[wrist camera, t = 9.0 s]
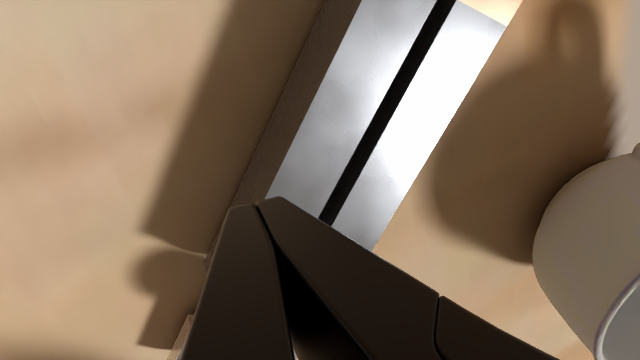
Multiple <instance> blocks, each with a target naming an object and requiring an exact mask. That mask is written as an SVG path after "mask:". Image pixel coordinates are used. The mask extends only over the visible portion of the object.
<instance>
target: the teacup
mask: <svg viewBox="0 0 640 360" xmlns="http://www.w3.org/2000/svg"><path fill="white" fill-rule="evenodd" d="M532 259H533V267H534V272H535V275H536V278H537V280H538V282H539V284H540V286H541V288H542V290H543V291H544V293H545V295H546V296H547V298H548V299H549V300H550V302H551V303H552V305H553V306H554V307H555V309H556V310H557V311H558V313H559V314H560V315H561V316H562V318H563V319H564V320H565V321H566V323H567V324H568V325H569V326H570V328H571V329H572V330H573V331H574V332H575V334H576V335H577V336H578V337H579V338H580V340H581V341H582V342H583V343H584V344H585V346H586V347H587V348H588V349H589V350H590V352H591V353H592V354H593V357H594V359H595V360H640V143H639V144H637V145H636V146H635V148H634V150H633V152H632V153H629V154H625V155H621V156H618V157H615V158H613V159H609V160H606V161H603V162H600V163H598V164H596V165H593V166H591V167H589V168H587V169H586V170H584V171H582V172H581V173H579V174H578V175H576V176H575V177H573V178H572V179H571V180H570V181H569V182H568V183H566V184H565V185H564V186H563V187H562V188H561V189H560V190H559V191H558V193H557V194H556V195H555V196H554V198H553V199H552V200H551V202H550V203H549V205H548V206H547V208H546V210H545V212H544V214H543V216H542V219H541V222H540V225H539V228H538V230H537V232H536V236H535V240H534V244H533V253H532Z"/></svg>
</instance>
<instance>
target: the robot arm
mask: <svg viewBox="0 0 640 360" xmlns="http://www.w3.org/2000/svg"><path fill="white" fill-rule="evenodd" d="M293 348H294V350H293ZM294 351H295V353H296V355H297V358H298V360H559V359H557V358H555V357H553V356H551V355H549V354H547V353H545V352H543V351H541V350H539V349H537V348H535V347H533V346H531V345H529V344H528V343H526V342H524V341H522V340H520V339H518V338H516V337H514V336H512V335H510V334H508V333H506V332H504V331H503V330H501V329H499V328H497V327H495V326H494V325H492V324H490V323H488V322H487V321H485V320H483V319H482V318H480V317H478V316H476V315H475V314H473V313H471V312H470V311H468V310H466V309H464V308H463V307H461V306H459V305H458V304H456V303H455V302H453V301H451V300H450V299H448V298H446V297H445V296H440V298H439V293H438V292H436V291H435V290H433V289H431V288H430V287H428V286H427V285H425V284H423V283H422V282H420V281H418V280H417V279H415V278H414V277H412V276H410V275H409V274H407V273H405V272H404V271H402V270H401V269H399V268H397V267H396V266H394V265H392V264H391V263H389V262H388V261H386V260H384V259H383V258H381V257H379V256H378V255H376V254H375V253H373V252H371V251H370V250H368V249H366V248H365V247H363V246H362V245H360V244H358V243H357V242H355V241H354V240H352V239H350V238H349V237H347V236H345V235H344V234H342V233H341V232H339V231H337V230H336V229H334V228H332V227H331V226H329V225H328V224H326V223H324V222H323V221H321V220H319V219H318V218H316V217H315V216H313V215H311V214H310V213H308V212H306V211H305V210H303V209H302V208H300V207H298V206H297V205H295V204H293V203H292V202H290V201H289V200H287V199H285V198H284V197H281V196H277V197H273V198H269V199H264V200H260V201H258V202H257V203H256V205H255V204H253V203H248V204H243V205H239V206H235V207H231V208H229V209H228V211H227V213H226V217H225V220H224V223H223V226H222V229H221V232H220V236H219V239H218V242H217V245H216V248H215V251H214V254H213V258H212V261H211V264H210V267H209V270H208V273H207V277H206V280H205V283H204V286H203V289H202V292H201V295H200V299H199V302H198V305H197V308H196V311H195V314H194V317H193V321H192V324H191V327H190V330H189V333H188V336H187V340H186V343H185V346H184V349H183V352H182V355H181V358H180V360H295V355H294Z"/></svg>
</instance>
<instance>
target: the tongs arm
mask: <svg viewBox="0 0 640 360" xmlns="http://www.w3.org/2000/svg"><path fill="white" fill-rule="evenodd" d="M436 1H437V0H325V2H324V4H323V6H322V8H321V10H320V13H319V15H318V17H317V19H316V21H315V23H314V26H313V28H312V30H311V32H310V34H309V36H308V39H307V41H306V43H305V45H304V47H303V49H302V52H301V54H300V56H299V58H298V60H297V62H296V65H295V67H294V69H293V71H292V73H291V75H290V77H289V80H288V82H287V84H286V86H285V88H284V90H283V93H282V95H281V97H280V99H279V101H278V103H277V106H276V108H275V110H274V112H273V114H272V116H271V119H270V121H269V123H268V125H267V127H266V129H265V132H264V134H263V136H262V138H261V140H260V142H259V145H258V147H257V149H256V151H255V153H254V155H253V158H252V160H251V162H250V164H249V166H248V168H247V171H246V173H245V175H244V177H243V179H242V181H241V183H240V186H239V188H238V190H237V192H236V194H235V196H234V199H233V201H232V203H231V205H230V207H229V208H231V207H235V206H239V205H243V204H248V203H253V204H255V205H256V203H257V202H258V201H260V200H264V199H269V198H273V197H277V196H281V197H284V198H285V199H287V200H289V201H290V202H292V203H293V204H295V205H297V206H298V207H300V208H302V209H303V210H305V211H306V212H308V213H310V214H311V215H313V216H315V217H316V218H318V217H319V215H320V213H321V211H322V210H323V208H324V206H325V204H326V202H327V200H328V199H329V197H330V195H331V193H332V191H333V189H334V188H335V186H336V184H337V182H338V180H339V178H340V177H341V175H342V173H343V171H344V169H345V167H346V166H347V164H348V162H349V160H350V158H351V156H352V155H353V153H354V151H355V149H356V147H357V145H358V144H359V142H360V140H361V138H362V136H363V134H364V133H365V131H366V129H367V127H368V125H369V123H370V122H371V120H372V118H373V116H374V114H375V112H376V111H377V109H378V107H379V105H380V103H381V101H382V100H383V98H384V96H385V94H386V92H387V90H388V89H389V87H390V85H391V83H392V81H393V79H394V78H395V76H396V74H397V72H398V70H399V68H400V67H401V65H402V63H403V61H404V59H405V57H406V56H407V54H408V52H409V50H410V48H411V46H412V45H413V43H414V41H415V39H416V37H417V35H418V34H419V32H420V30H421V28H422V26H423V24H424V23H425V21H426V19H427V17H428V15H429V13H430V12H431V10H432V8H433V6H434V4H435V2H436ZM225 217H226V216H225ZM224 220H225V218H224ZM224 220H223V222H222V225H221V227H220V229H219V231H218V233H217V235H216V238H215V240H214V242H213V244H212V246H211V248H210V251H209V253H208V255H207V257H206V259H205V261H204V262H205V267H206V272H207V273H208V270H209V267H210V264H211V261H212V258H213V254H214V251H215V248H216V245H217V242H218V239H219V236H220V232H221V229H222V226H223V223H224Z"/></svg>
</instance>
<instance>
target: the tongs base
mask: <svg viewBox="0 0 640 360" xmlns="http://www.w3.org/2000/svg"><path fill="white" fill-rule="evenodd" d="M521 2H522V0H437V1H436V2H435V4H434V6H433V8H432V10H431V12H430V13H429V15H428V17H427V19H426V21H425V23H424V24H423V26H422V28H421V30H420V32H419V34H418V35H417V37H416V39H415V41H414V43H413V45H412V46H411V48H410V50H409V52H408V54H407V56H406V57H405V59H404V61H403V63H402V65H401V67H400V68H399V70H398V72H397V74H396V76H395V78H394V79H393V81H392V83H391V85H390V87H389V89H388V90H387V92H386V94H385V96H384V98H383V100H382V101H381V103H380V105H379V107H378V109H377V111H376V112H375V114H374V116H373V118H372V120H371V122H370V123H369V125H368V127H367V129H366V131H365V133H364V134H363V136H362V138H361V140H360V142H359V144H358V145H357V147H356V149H355V151H354V153H353V155H352V156H351V158H350V160H349V162H348V164H347V166H346V167H345V169H344V171H343V173H342V175H341V177H340V178H339V180H338V182H337V184H336V186H335V188H334V189H333V191H332V193H331V195H330V197H329V199H328V200H327V202H326V204H325V206H324V208H323V210H322V211H321V213H320V215H319V217H318V219H319V220H321V221H323V222H324V223H326V224H328V225H329V226H331V227H332V228H334V229H336V230H337V231H339V232H341V233H342V234H344V235H345V236H347V237H349V238H350V239H352V240H354V241H355V242H357V243H358V244H360V245H362V246H363V247H365V248H366V249H368V250H370V251H372V249H373V248H374V246H375V244H376V243H377V241H378V239H379V238H380V236H381V234H382V233H383V231H384V230H385V228H386V226H387V225H388V223H389V221H390V220H391V218H392V216H393V215H394V213H395V211H396V210H397V208H398V206H399V205H400V203H401V201H402V200H403V198H404V196H405V195H406V193H407V191H408V190H409V188H410V186H411V185H412V183H413V181H414V180H415V178H416V176H417V175H418V173H419V171H420V170H421V168H422V166H423V165H424V163H425V161H426V160H427V158H428V156H429V155H430V153H431V151H432V150H433V148H434V147H435V145H436V143H437V142H438V140H439V138H440V137H441V135H442V133H443V132H444V130H445V128H446V127H447V125H448V123H449V122H450V120H451V118H452V117H453V115H454V113H455V112H456V110H457V108H458V107H459V105H460V103H461V102H462V100H463V98H464V97H465V95H466V93H467V92H468V90H469V88H470V87H471V85H472V83H473V82H474V80H475V78H476V77H477V75H478V73H479V72H480V70H481V68H482V67H483V65H484V63H485V62H486V60H487V59H488V57H489V55H490V54H491V52H492V50H493V49H494V47H495V45H496V44H497V42H498V40H499V39H500V37H501V35H502V34H503V32H504V30H505V29H506V27H507V25H508V24H509V22H510V20H511V19H512V17H513V15H514V14H515V12H516V10H517V9H518V7H519V5H520V4H521ZM193 317H194V315H190V314H188V315H187V317H186V319H185V322H184V324H183V326H182V328H181V330H180V332H179V335H178V337H177V339H176V341H175V343H174V346H173V348H172V350H171V352H170V354H169V356H168V359H167V360H180V358H181V355H182V352H183V349H184V346H185V343H186V340H187V336H188V333H189V330H190V327H191V324H192V321H193ZM293 350H294V348H293ZM294 355H295V360H296V357H297V355H296V353H295V351H294Z"/></svg>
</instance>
